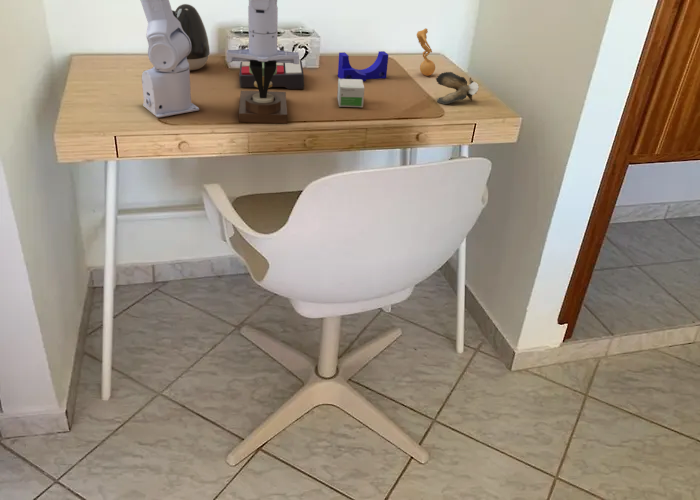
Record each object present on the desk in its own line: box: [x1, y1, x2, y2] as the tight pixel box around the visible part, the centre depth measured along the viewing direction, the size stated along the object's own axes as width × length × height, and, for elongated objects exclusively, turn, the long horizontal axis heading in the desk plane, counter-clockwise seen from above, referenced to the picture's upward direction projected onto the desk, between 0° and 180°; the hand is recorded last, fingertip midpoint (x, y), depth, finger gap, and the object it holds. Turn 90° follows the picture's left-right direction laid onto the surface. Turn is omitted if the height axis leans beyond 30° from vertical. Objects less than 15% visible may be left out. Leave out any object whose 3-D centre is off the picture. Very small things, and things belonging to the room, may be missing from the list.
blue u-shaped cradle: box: [337, 50, 389, 82], centre depth 168 cm, size 12×4×6 cm, turn 108°
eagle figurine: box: [435, 71, 480, 105], centre depth 159 cm, size 8×7×9 cm
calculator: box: [238, 59, 305, 90], centre depth 162 cm, size 11×4×15 cm
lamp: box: [249, 62, 277, 89], centre depth 147 cm, size 6×6×5 cm
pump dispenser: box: [172, 3, 211, 72], centre depth 164 cm, size 10×10×15 cm
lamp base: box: [238, 90, 288, 124], centre depth 145 cm, size 14×10×4 cm
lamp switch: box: [253, 93, 274, 103], centre depth 142 cm, size 4×4×2 cm
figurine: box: [416, 28, 436, 77], centre depth 172 cm, size 8×6×12 cm
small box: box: [336, 78, 365, 109], centre depth 153 cm, size 6×6×5 cm
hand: (263, 96), depth 141 cm, fingers closed, pressing on lamp switch
